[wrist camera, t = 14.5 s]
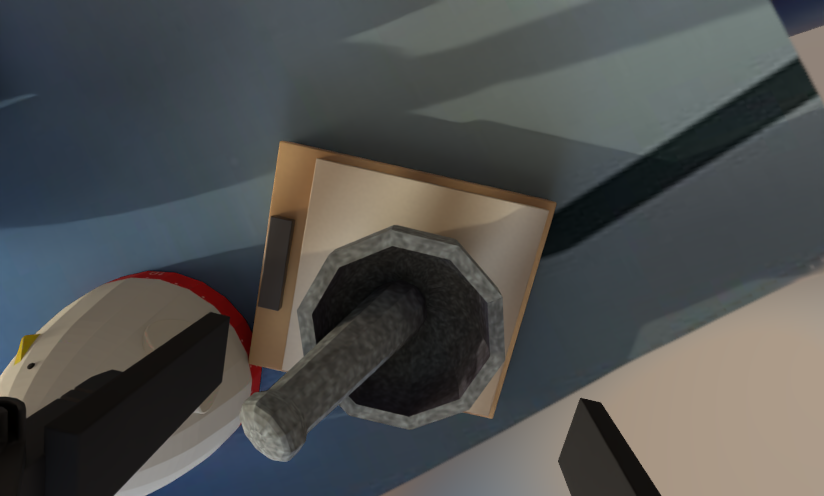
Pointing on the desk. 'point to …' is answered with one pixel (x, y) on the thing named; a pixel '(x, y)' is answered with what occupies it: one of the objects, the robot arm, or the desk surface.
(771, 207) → the desk surface
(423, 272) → the mortar and pestle
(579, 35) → the desk surface
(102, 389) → the robot arm
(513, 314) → the scale
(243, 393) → the kitchen timer
